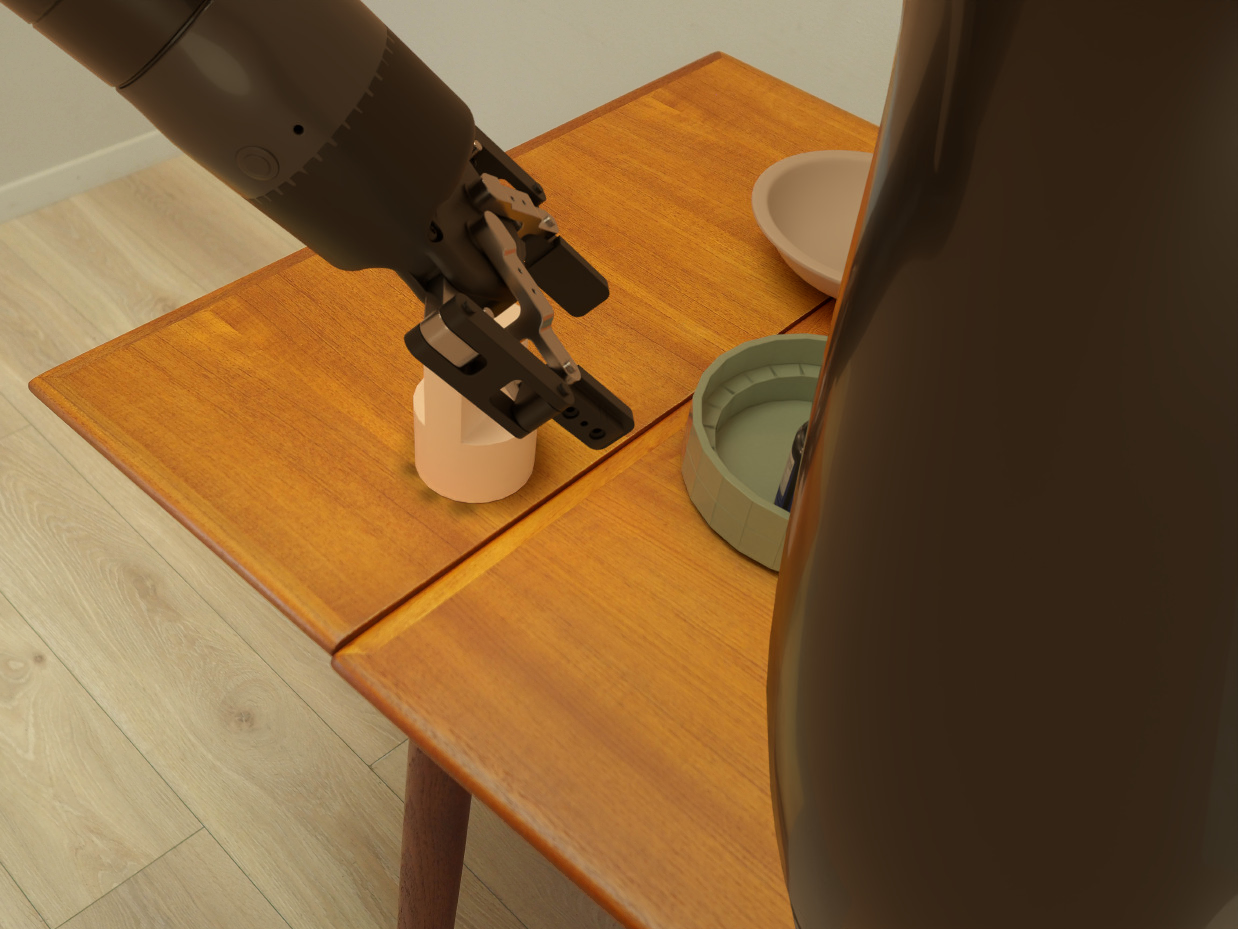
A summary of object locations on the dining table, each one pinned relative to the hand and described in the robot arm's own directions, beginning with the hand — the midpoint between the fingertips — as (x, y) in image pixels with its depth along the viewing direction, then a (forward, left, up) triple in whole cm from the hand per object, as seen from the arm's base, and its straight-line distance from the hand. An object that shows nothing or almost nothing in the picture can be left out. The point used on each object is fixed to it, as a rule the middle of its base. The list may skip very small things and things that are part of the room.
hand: (605, 363), depth 45 cm
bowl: (+17, -24, -29) cm, 41 cm away
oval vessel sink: (+43, -38, -29) cm, 64 cm away
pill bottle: (+13, -21, -28) cm, 38 cm away
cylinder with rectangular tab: (+22, +2, -29) cm, 36 cm away
